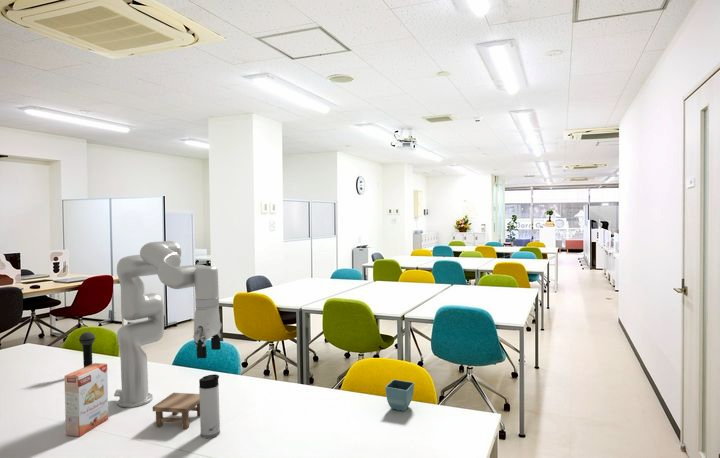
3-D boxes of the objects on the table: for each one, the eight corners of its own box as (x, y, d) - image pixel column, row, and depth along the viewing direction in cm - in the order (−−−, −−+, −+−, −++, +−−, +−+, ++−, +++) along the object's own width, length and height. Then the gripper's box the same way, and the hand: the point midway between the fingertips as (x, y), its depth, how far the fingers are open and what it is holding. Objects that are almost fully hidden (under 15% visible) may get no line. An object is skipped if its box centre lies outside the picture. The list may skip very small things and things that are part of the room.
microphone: (77, 375, 217) (75, 333, 217) (88, 370, 224) (87, 330, 223) (87, 376, 216) (86, 334, 215) (99, 372, 222) (98, 330, 221)
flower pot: (415, 405, 177) (414, 382, 177) (407, 414, 169) (407, 390, 169) (393, 401, 181) (393, 379, 181) (385, 410, 173) (384, 387, 173)
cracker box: (80, 437, 156) (78, 376, 155) (65, 436, 157) (62, 375, 156) (110, 419, 170) (108, 362, 169) (95, 418, 171) (93, 362, 170)
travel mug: (215, 439, 153) (213, 379, 152) (197, 437, 154) (195, 378, 154) (224, 430, 159) (222, 373, 158) (206, 429, 160) (205, 372, 160)
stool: (153, 428, 162) (152, 406, 162) (174, 412, 175) (173, 392, 174) (187, 430, 160) (186, 408, 160) (206, 414, 173) (205, 394, 172)
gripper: (209, 298, 164) (211, 346, 165) (183, 308, 147) (185, 361, 148) (229, 298, 163) (230, 346, 164) (204, 308, 146) (206, 362, 146)
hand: (209, 353), depth 156 cm, fingers open, 9 cm apart
